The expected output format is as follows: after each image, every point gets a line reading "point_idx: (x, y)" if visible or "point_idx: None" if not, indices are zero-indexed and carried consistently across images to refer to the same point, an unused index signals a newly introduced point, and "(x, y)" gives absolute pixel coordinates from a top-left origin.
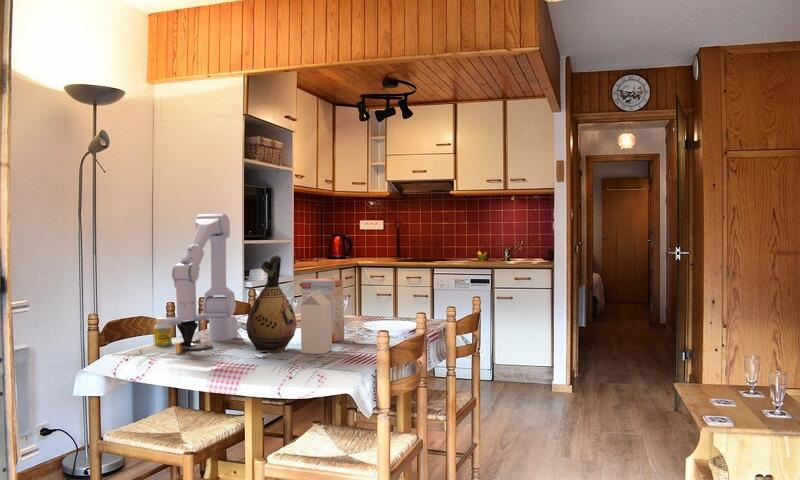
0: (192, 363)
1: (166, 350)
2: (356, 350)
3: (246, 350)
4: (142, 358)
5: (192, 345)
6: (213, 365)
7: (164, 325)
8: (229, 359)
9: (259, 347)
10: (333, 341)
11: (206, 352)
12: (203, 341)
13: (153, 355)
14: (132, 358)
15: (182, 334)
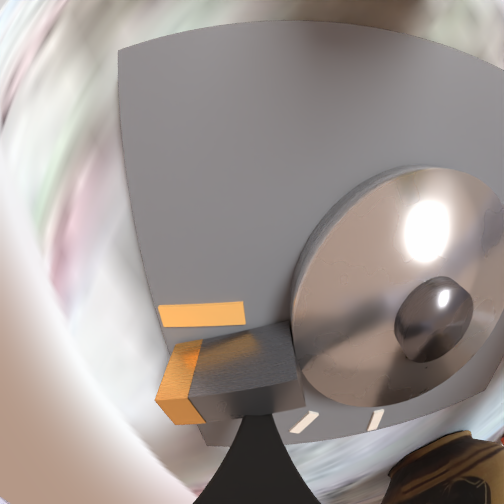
0: (161, 450)
1: (213, 155)
2: None
3: (437, 423)
4: (38, 171)
5: (325, 382)
6: (192, 484)
7: (1, 499)
8: None
9: (390, 484)
10: (501, 439)
11: (302, 434)
12: (481, 306)
13: (119, 127)
14: (18, 120)
15: (219, 477)
